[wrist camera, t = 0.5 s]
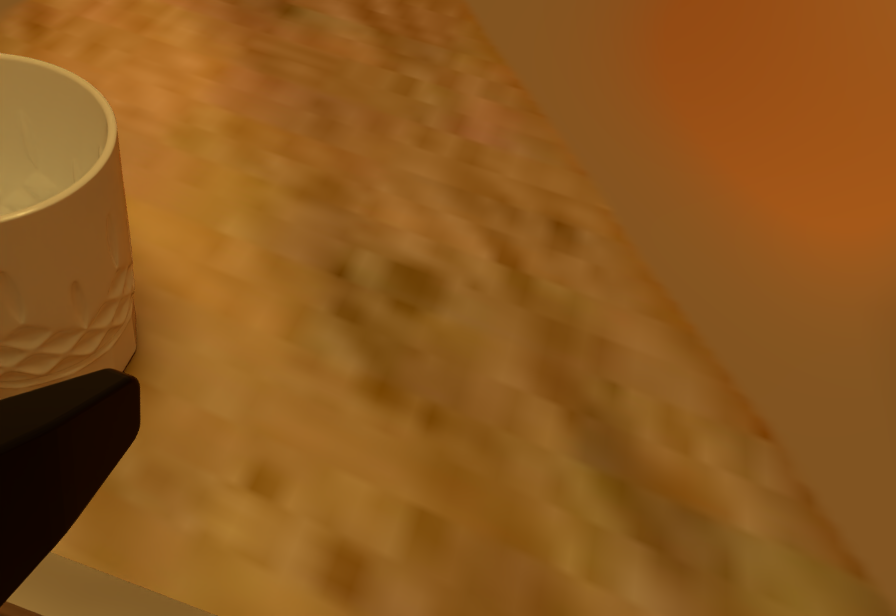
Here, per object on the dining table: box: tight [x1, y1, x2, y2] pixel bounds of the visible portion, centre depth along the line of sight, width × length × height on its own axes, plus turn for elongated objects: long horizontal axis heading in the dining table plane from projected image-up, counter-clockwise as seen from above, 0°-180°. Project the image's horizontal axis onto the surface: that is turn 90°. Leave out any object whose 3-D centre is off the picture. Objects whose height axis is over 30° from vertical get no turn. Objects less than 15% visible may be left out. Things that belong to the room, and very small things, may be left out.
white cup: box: [0, 53, 136, 400], centre depth 24 cm, size 8×8×10 cm
